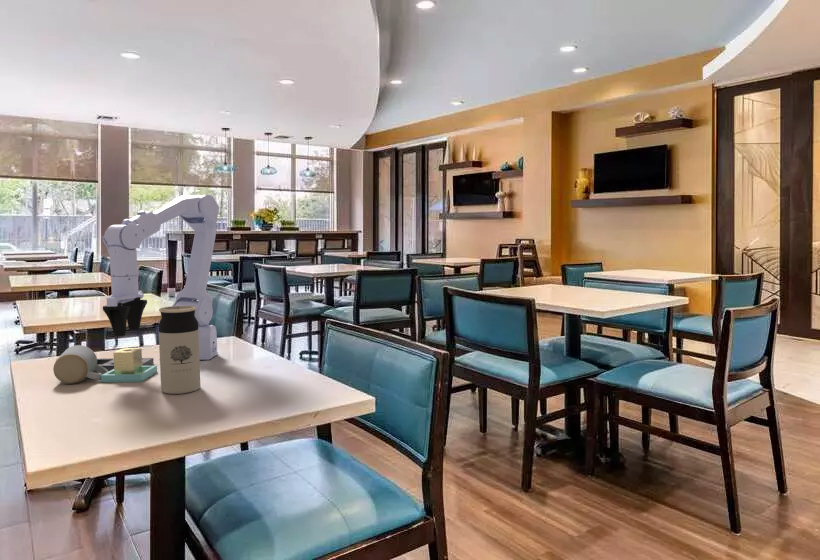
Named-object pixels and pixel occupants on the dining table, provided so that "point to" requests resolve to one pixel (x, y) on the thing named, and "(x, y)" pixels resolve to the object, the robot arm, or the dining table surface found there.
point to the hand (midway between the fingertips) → (127, 332)
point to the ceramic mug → (77, 365)
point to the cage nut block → (128, 361)
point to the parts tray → (129, 375)
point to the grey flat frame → (109, 362)
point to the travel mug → (179, 350)
